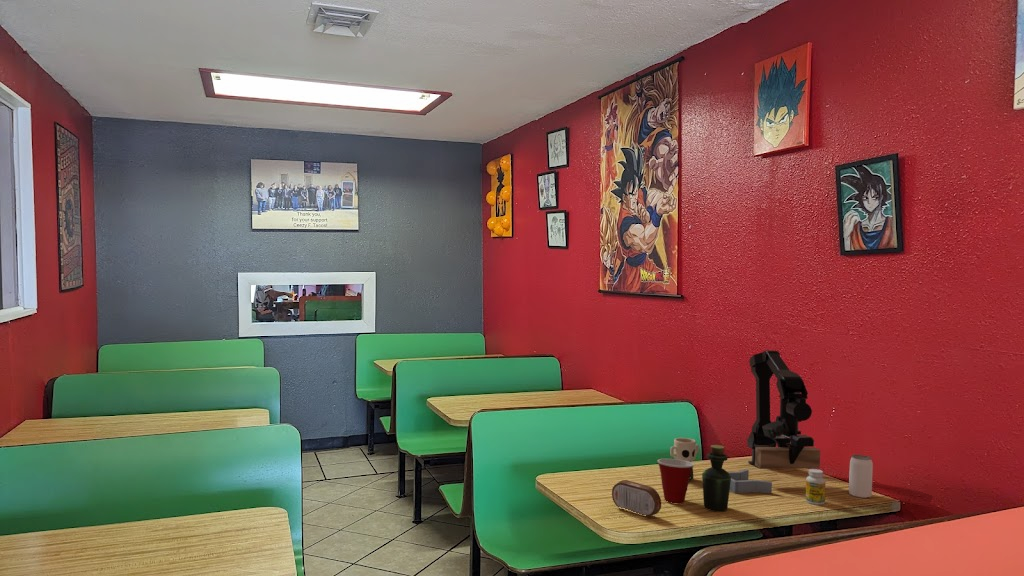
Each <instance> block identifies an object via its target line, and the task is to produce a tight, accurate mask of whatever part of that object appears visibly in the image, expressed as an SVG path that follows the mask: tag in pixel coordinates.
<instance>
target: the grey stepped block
mask: <svg viewBox="0 0 1024 576" xmlns="http://www.w3.org/2000/svg"><path fill="white" fill-rule="evenodd" d="M727 472H728V473H729V474H730V476H731V483H730V491H729V492H732V494H742V493H743V494H744V493H745V494H746V493H759V492H760V493H759V494H761V493H762V494H768V493H771V494H772V491H773V482H772V481H771V480H770V481H769V480H759V479H749V469H747V468H745V469H741V470H738V471H727Z"/></svg>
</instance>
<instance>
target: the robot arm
mask: <svg viewBox="0 0 1024 576" xmlns="http://www.w3.org/2000/svg"><path fill="white" fill-rule="evenodd" d="M749 367H750V372H751V373H752V375H753V377H754V378H755V408H756V409H755V413H756V417H755V419H756V420H755V421H754V423H753V424H752V426H751V432H750V434H749V435H748V437H747V439H746V444H747V447H748V448H750V449H751V451H752V452H751V453H752V454H751V460H748V461H747V462H748V464H750V465H752V466H754V467H756V468H758V467H757V466H755V447H789V459H790V464H794V462H795V460H796V459H797V457H798V455H799V454H800V452H801V451H802V449H803V448H804V447H815V439H814V438H813V437H811V436H810V435H806V434H801V433H802V430H799V423H801V422H803V421H804V422H805V421H808V420H809V419H810V418H811V417H812V412H813V410H812V407H811V405H809V403H807V399H808V398H809V397H808V393H809V392H808V390H807V387H806V384H805V382H804V380H803V378H802V377H801V376H800V375H799V373H796V372H794V371H792V370H791V369H790V368H789V366H787V364H786V363H785V361H784V360H783V358H782V357H781V355H780V351H778V350H768V349H767V350H764V351H762V352H758V353H754V354H753V355H752V356H750V358H749ZM773 375H774V376H775V378H776V389H777V391H778V393H779V395H778V397H779V398H780V400H779V415H777V416H776V418H775V421H772V420H771V378H772V376H773Z"/></svg>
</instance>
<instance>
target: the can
mask: <svg viewBox="0 0 1024 576" xmlns="http://www.w3.org/2000/svg"><path fill="white" fill-rule="evenodd" d="M873 472H874V464H873V461H872V457H870V456H867V455H863V454H851V458H850V461H849V473H848V475H849V476H848V479H849V480H848V493H849V495H850V496H853V497H855V498H860V499H868V498H867V497H870V498H871V497H872V495H873V494H872V493H873Z"/></svg>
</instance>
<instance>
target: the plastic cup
mask: <svg viewBox="0 0 1024 576" xmlns="http://www.w3.org/2000/svg"><path fill="white" fill-rule="evenodd" d="M656 462H657V463H658V467H659V472H660V479H661V485H662V486H661V487H662V491H663V498H664V501H665V500H666V501H668V502H672V503H681V504H683V502H684V503H685V499H686V495H687V492H688V485H689V481H690V474H691V470H692V468H693V469H694V466H695V463H693V461H691V462H689V461H685V460H678V459H675V458H659V459H657V461H656ZM666 501H665V502H666ZM668 502H667V503H668ZM672 503H671V504H672Z"/></svg>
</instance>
